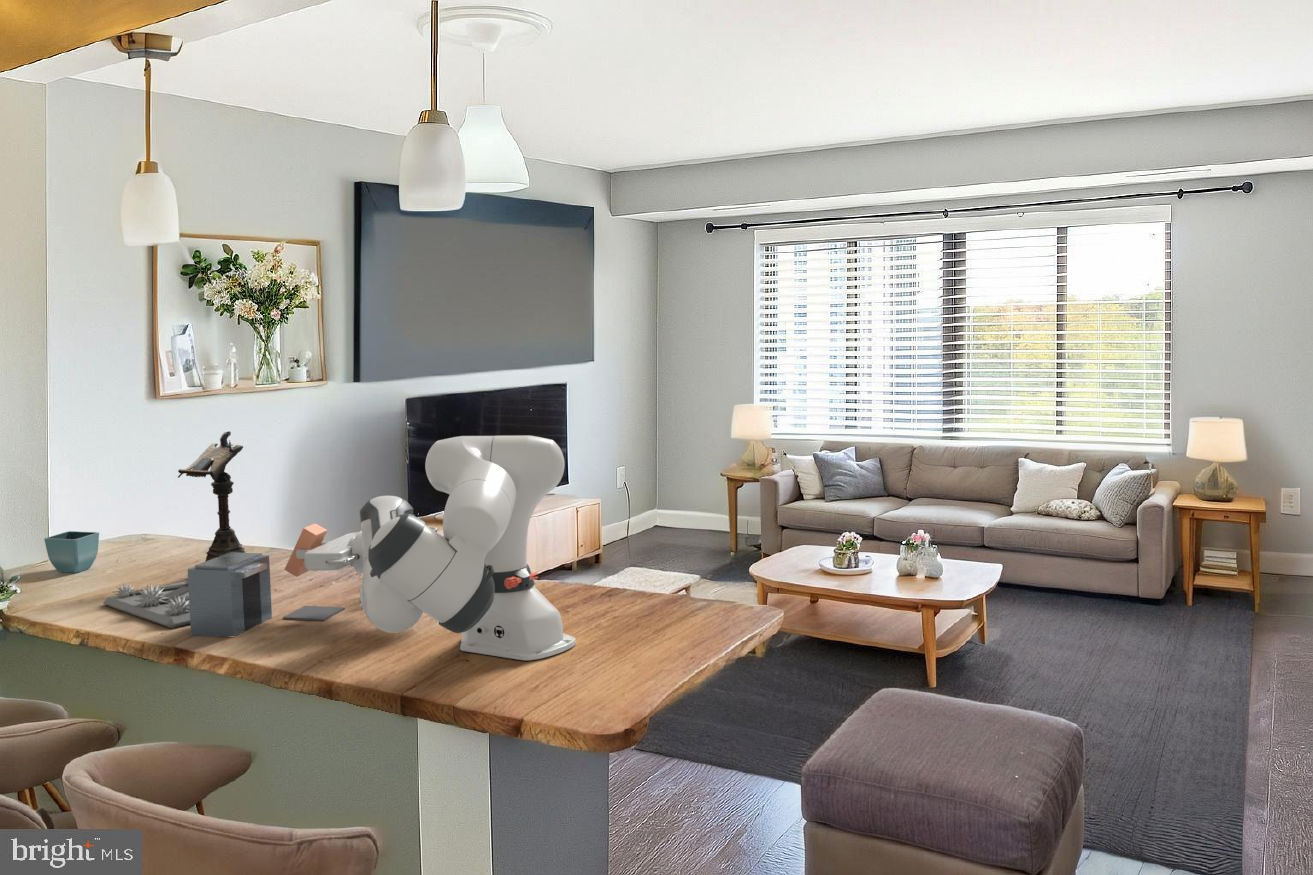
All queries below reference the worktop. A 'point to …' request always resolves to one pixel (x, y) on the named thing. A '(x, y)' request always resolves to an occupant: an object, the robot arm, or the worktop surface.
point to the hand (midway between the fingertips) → (305, 550)
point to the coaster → (314, 613)
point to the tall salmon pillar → (305, 547)
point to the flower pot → (72, 550)
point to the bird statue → (218, 492)
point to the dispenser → (229, 594)
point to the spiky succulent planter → (155, 603)
